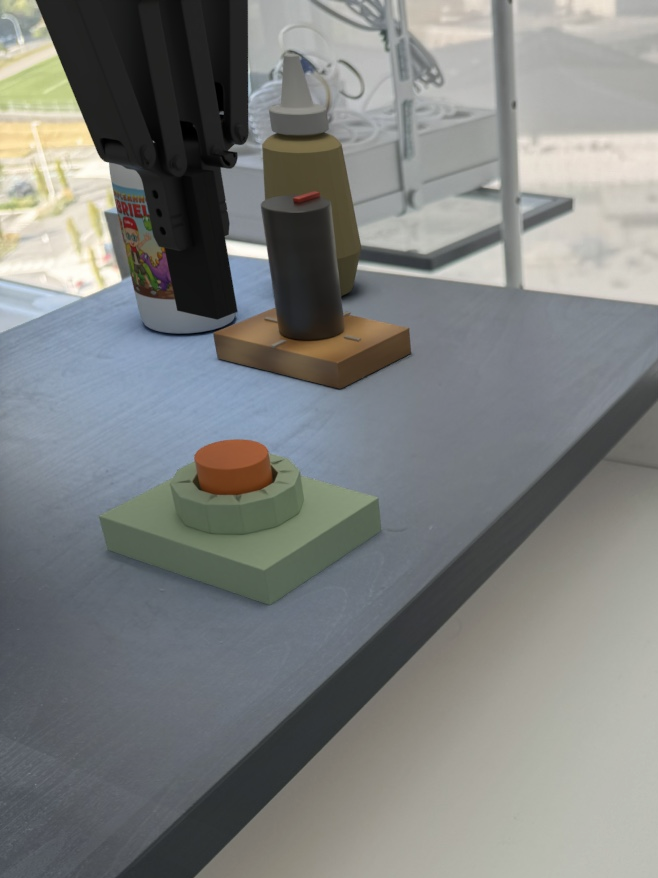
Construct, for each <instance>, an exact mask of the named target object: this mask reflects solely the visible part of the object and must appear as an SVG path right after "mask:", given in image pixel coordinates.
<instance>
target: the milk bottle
mask: <svg viewBox="0 0 658 878" xmlns="http://www.w3.org/2000/svg"><path fill="white" fill-rule="evenodd" d="M153 142H154V141H153ZM108 168H109V176H110V182H111V186H112V193H113V198H114V203H115V207H116V212H117V218H118V222H119V227H120V231H121V236H122V242H123V245H124V250H125V255H126V261H127V264H128V269H129V273H130V278H131V282H132V286H133V292H134V296H135V301H136V305H137V309H138V314H139V318H140V320H141V321H142V323H143V324H144V326H145V327H146V328H149V329H150V330H153V331H156V332H160V333H165V334H166V333H167V334H195V333H203V332H209V331H213V330H216V329H220V328H223V327H226V326H228V325H229V324H231V323H232V322H233V321H234V320H235V317H236V313H237V312H236V313H233V314H231V315H228V316H226V317H223V318H220V319H218V320H216V319H212V318H207V317H203V316H198V315H194V314H189V313H185V312H181V311H177V307H176V302H175V297H174V292H173V287H172V282H171V278H170V273H169V268H168V263H167V258H166V253H165V248H163V247H159V246H158V244H157V242H156V240H155V238H154V236H153V232H152V227H151V224H152V223H151V222H150V217H149V215H150V214H149V212H148V207H147V203H146V198H145V193H144V188H143V183H142V180H141V178H140V176H139V174H138V173H137V172H136V171H135V170H132V169H126V168H125V167H123V166H121V165H118V164H114V163H108Z"/></svg>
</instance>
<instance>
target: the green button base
mask: <svg viewBox="0 0 658 878" xmlns="http://www.w3.org/2000/svg"><path fill="white" fill-rule="evenodd" d="M269 458H270V464H271V471H272V477H273V482H272V484H270V485H268V486H267V487H265V488H263V489H261V490H259V491H254V492H249V493H245V494H240V495H214V494H211V493H208V492H204V491H202V490H201V488H200V484H199V479H198V474H197V470H196V465H195V460H193V461H192V462H190V463H188V464H187V465H184V466H182V467H180V468H179V469H177V470H176V472H175V473H174V475H173V477H172V478H170V479H168V480H165V481H163V482H162V483H160V484H158V485H156V486H154V487H152V488H150V489H148V490H146V491H144V492H142V493H140V494H138V495H136V496H135V497H134V496H133V498H130V499H129V500H127V501H125V502H123V503H121V504H118V505H117V506H115V507H112V508H110V509H109V510H107V511H105V512H103V513H101V514H99V515H98V520H99V522H100V527H101V531H102V534H103V537H104V538H103V539H104V542H105V545H106V549H107V551H110V552H112V553H116V554H118V555H122V556H124V557H127V558H130V559H133V560H136V561H139V562H142V563H145V564H148V565H151V566H154V567H156V568H160V569H162V570H165V571H168V572H171V573H174V574H177V575H180V576H183V577H186V578H188V579H192V580H194V581H198V582H200V583H203V584H206V585H209V586H212V587H215V588H218V589H220V590H224V591H226V592H230V593H232V594H235V595H239V596H242V597H245V598H248V599H250V600H253V601H257V602H259V603H262V604H265V605H268V606H271V605H274V603H276V602H277V601H279V600H281V599H282V598H283V597H285V596H287V595H288V594H289V593H291V592H292V591H294V590H295V589H296V588H298V587H300V586H301V585H303V584H305V583H306V582H307V581H309V580H310V579H312V578H313V577H315V576H316V575H318V574H319V573H321V572H322V571H323V570H326V569H327V568H328V567H331V566H332V564H334V563H336V562H337V561H339V560H340V559H341V558H343V557H344V556H346V555H348V554H349V553H351V552H352V551H353V550H355V549H357V548H358V547H360V546H362V545H363V544H364V543H366V542H367V541H369V540H370V539H372V538H373V537H374V536H376V535H378V534H379V533H381V532H382V530H383V529H382V520H381V511H380V510H381V509H380V502H379V501H380V500H379V497H377V496H375V495H370V494H367V493H365V492H360V491H357V490H353V489H349V488H346V487H343V486H339V485H337V484H332V483H328V482H325V481H322V480H319V479H314V478H312V477H308V476H304V475H301V470H300V469H299V467H297V466H296V464H294V462H293V461H291V459H290V458H288V457H284V456H282V455H281V456H280V455H278V454H273V453H270V452H269Z"/></svg>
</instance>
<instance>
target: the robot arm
mask: <svg viewBox="0 0 658 878" xmlns="http://www.w3.org/2000/svg"><path fill="white" fill-rule="evenodd" d="M35 3H36V5H37V8H38V10H39V13H40V15H41V18H42V20H43V23H44V25H45V28H46V29H47V32H48V34H49V37H50V40H51V42H52V45H53V47H54V49H55V52H56V54H57V57H58V60H59V62H60V64H61V66H62V69H63V71H64V74H65V77H66V79H67V81H68V82H67V83H68V84H69V86H70V88H71V91H72V94H73V96H74V99H75V101H76V103H77V106H78V109H79V111H80V113H81V116H82V118H83V120H84V123H85V125H86V128H87V130H88V133H89V135H90V138H91V140H92V143H93V146H94V147H95V151H96V152H97V155H98V156H99V158H100V159H101V161H103V162H105V163H108V164H109V163H114V164H118V165H121V166H123V167H125V168H126V169H132V170H135V171H136V172H137V173H138V174H139V176H140V178H141V180H142V183H143V188H144V193H145V198H146V203H147V207H148V212H149V214H150V215H149V217H150V222H151V223H152V224H151V227H152V232H153V236H154V238H155V240H156V242H157V244H158V246H159V247H163V248H165V253H166V258H167V263H168V268H169V273H170V278H171V282H172V287H173V292H174V297H175V302H176V307H177V311H181V312H185V313H189V314H194V315H198V316H203V317H207V318H212V319H216V320H218V319H220V318H223V317H226V316H228V315H231V314H233V313H238V312H239V311H238V306H237V301H236V295H235V287H234V283H233V277H232V270H231V263H230V259H229V253H228V247H227V241H226V237H227V236H229V234H230V216H229V211H228V205H227V202H226V201H227V199H226V194H225V187H224V181H223V175H222V169H229V170H232V169H233V168H234V167H235V166H236V165H237V164H238V163H237V161H238V158H239V157H238V152H237V151H232V150H231V149H232V148H233V147H234V146H235V145H236V146H243V145H244V144H246V143H247V141H248V138H249V132H250V131H249V129H250V128H249V0H35ZM222 112H223V114H221V113H222ZM153 141H154V142H153Z"/></svg>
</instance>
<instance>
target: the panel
mask: <svg viewBox="0 0 658 878" xmlns="http://www.w3.org/2000/svg"><path fill="white" fill-rule="evenodd" d="M351 314H352V313H351V312H350V311H344V312H343V318H344V327H345V328H344V330H343V332H342V333H340V334H338V335H336V336H333V337H330V338H325V339H319V340H298V339H292V338H288V337H285V336H283V335H282V334H281V333H280V332H279V328H278V322H277V315H276V308H275V307H273V308H271V309H270V308H269V309H268V310H265V311H263V312H261V313H258V314H256V315H253V316H251V317H248V318H245V319H244V320H241V321H239V322H236V323H234V324H232V325H229V326H225V327H224V328H221V329H219V330H216V331H214V332H212V335H213V342H214V346H215V347H214V348H215V351H216V352H215V353H216V357H217V359H218V360H222V361H226V362H230V363H234V364H238V365H242V366H246V367H250V368H255V369H259V370H263V371H265V372H266V371H267V372H269V373H274V374H279V375H282V376H286V377H290V378H294V379H299V380H302V381H307V382H311V383H315V384H319V385H322V386H326V387H330V388H334V389H339V390H341V389H343V388H345V387H348V386H350V385H351V384H354V383H356V382H357V381H360V380H362V379H363V378H365V377H367V376H369V375H372V374H373V373H376V372H377V371H379V370H381V369H384V368H385V367H386V366H388V365H390V364H393V363H394V362H397V361H399V360H400V359H402V358H405V357H407V356H409V355H411V354H412V348H411V346H412V345H411V334H410V328H409V327H407V326H401V325H397V324H393V323H390V322H389V323H388V322H383V321H379V320H374V319H371V318H365V317H360V316H356V315H351Z"/></svg>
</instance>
